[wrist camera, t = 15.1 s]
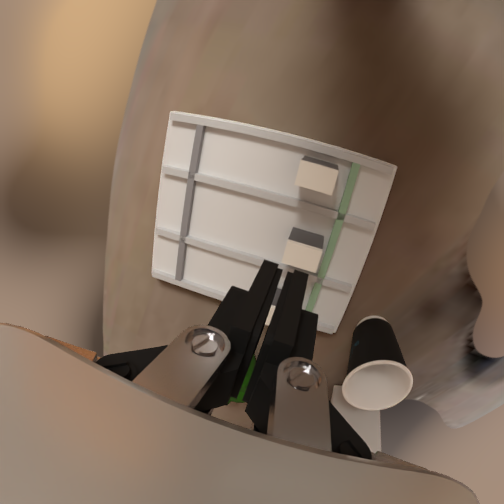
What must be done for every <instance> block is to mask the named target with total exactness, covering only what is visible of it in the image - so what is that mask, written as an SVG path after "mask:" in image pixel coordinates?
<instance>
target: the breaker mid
mask: <svg viewBox="0 0 504 504" xmlns="http://www.w3.org/2000/svg"><path fill="white" fill-rule="evenodd" d="M323 242H324V236H322V235H319V234H316V233H312V232H309V231H305V230H302V229H299V228H295V227H293V228H292V231H291V233H290V236H289V238H288V241H287V244H286V248H285V251H284V255H283V259H282V262H281V263H284V264H287V265H291V266H294V267H298V268H301V269H304V270H308V271H311V272H314V273H316V270H317V267H318V264H319V261H320V258H321V255H322V252H323Z"/></svg>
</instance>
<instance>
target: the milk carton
mask: <svg viewBox="0 0 504 504" xmlns="http://www.w3.org/2000/svg"><path fill="white" fill-rule="evenodd" d="M331 403H332V405H333V406H334V407H335V408H336V409H337V410H338V412H339V413H340V414H341V415H342V416H343V417H344V419H345V420H346V421H347V422H348V423H349V424H350V425H351V427H352V428H353V429H354V430H355V431H356V432H357V433H358V435H359V436H360V437H361V438H362V439H363V440H364V441H365V443H366V444H367V445H368V447H369V448H370V451H371V452H373V453H376V452H377V451H380V452H381V427H380V410H374V411H370V410H362V409H359V408H356V407H354V406H352V405H351V404H349V403H348V402H347V401H346V400H345V398H344V396H343V393H342V386H340V385H334V387H333V392H332V398H331Z"/></svg>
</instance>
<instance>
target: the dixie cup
mask: <svg viewBox="0 0 504 504" xmlns="http://www.w3.org/2000/svg"><path fill="white" fill-rule="evenodd" d="M412 385H413V377H412V374H411V372H410V371H409V369H408V368H407V367H406V364H405V361H404V358H403V356H402V353H401V350H400V347H399V345H398V342H397V340H396V337H395V334H394V332H393V329H392V327H391V325H390V324H389V323H388V322H387V320H386V319H384V318H383V317H380V316H375V315H374V316H368V317H365V318H363V319H362V320H361V321H360V322H359V323H358V324H357V326H356V328H355V330H354V333H353V339H352V345H351V352H350V358H349V364H348V370H347V375H346V378H345V380H344V382H343V385H342V393H343V396H344V398H345V400H346V401H347V402H348V403H349V404H351V405H352V406H354V407H356V408H359V409H362V410H370V411H374V410H382V409H386V408H389V407H392V406H394V405H396V404H398V403H399V402H400V401H402V400H403V399H404V398H405V397H406V396H407V395H408V394H409V392H410V390H411V388H412Z"/></svg>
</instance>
